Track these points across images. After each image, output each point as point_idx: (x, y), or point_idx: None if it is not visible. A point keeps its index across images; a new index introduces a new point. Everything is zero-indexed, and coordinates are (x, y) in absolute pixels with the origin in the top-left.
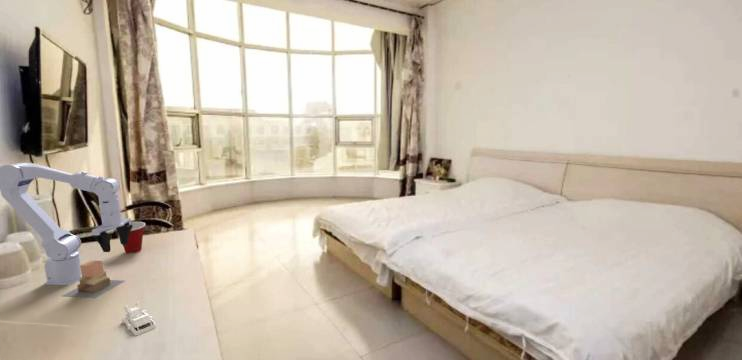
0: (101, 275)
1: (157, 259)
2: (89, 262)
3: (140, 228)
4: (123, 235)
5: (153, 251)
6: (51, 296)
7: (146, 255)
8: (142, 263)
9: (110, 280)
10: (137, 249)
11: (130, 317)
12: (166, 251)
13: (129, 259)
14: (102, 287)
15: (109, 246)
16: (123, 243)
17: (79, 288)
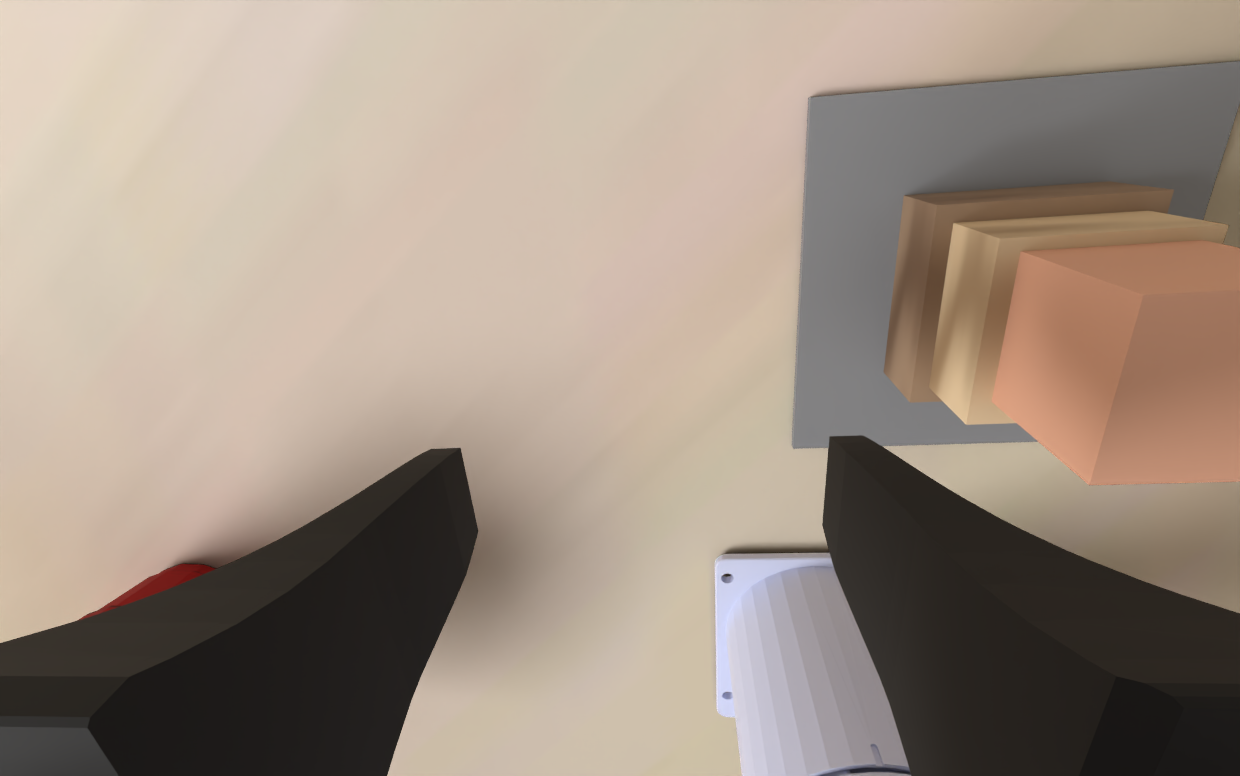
0: (1065, 228)
1: (240, 236)
2: (1185, 445)
3: None
4: (381, 613)
5: (126, 444)
6: (1101, 515)
7: (223, 433)
8: (377, 314)
9: (812, 277)
10: (190, 579)
11: None
12: (53, 314)
13: None
14: (1013, 189)
15: (896, 476)
16: (465, 503)
17: None
